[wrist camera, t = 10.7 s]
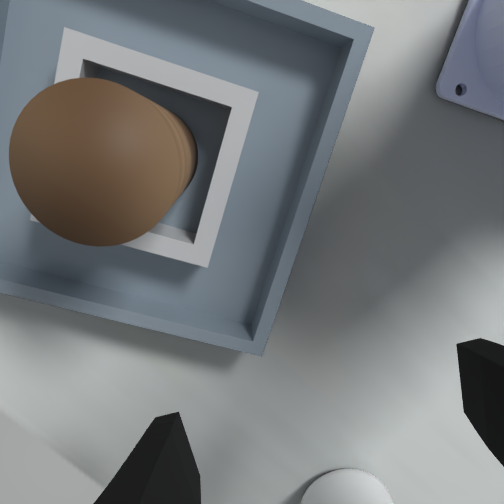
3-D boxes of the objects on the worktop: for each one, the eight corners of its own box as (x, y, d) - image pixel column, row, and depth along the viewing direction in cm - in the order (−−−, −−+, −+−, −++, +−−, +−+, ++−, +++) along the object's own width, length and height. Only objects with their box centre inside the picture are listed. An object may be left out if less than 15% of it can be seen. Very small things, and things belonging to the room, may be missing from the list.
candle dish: (354, 41, 18) (377, 25, 15) (257, 331, 21) (262, 359, 19) (15, -82, 16) (-26, -125, 13) (-34, 258, 19) (-75, 278, 17)
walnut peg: (206, 117, 18) (191, 98, 10) (189, 210, 19) (165, 259, 11) (108, 95, 17) (14, 59, 10) (97, 192, 18) (3, 230, 10)
